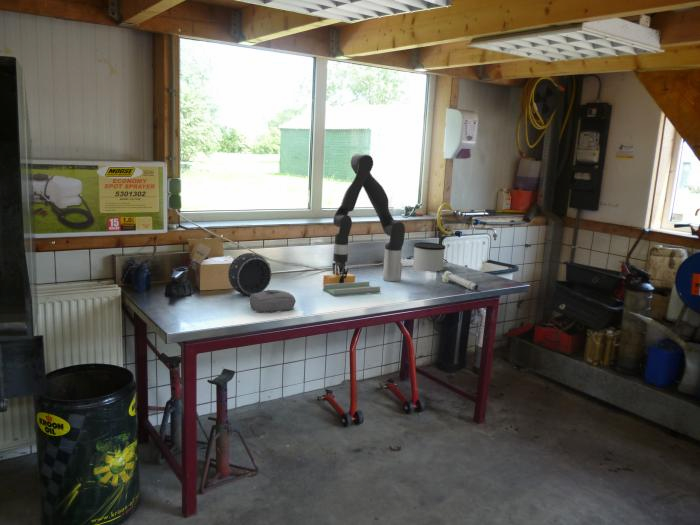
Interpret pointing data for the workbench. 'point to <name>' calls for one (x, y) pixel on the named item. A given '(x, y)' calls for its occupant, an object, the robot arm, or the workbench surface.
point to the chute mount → (350, 288)
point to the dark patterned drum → (249, 274)
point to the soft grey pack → (272, 301)
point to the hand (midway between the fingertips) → (339, 284)
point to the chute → (337, 279)
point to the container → (428, 256)
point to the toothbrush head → (459, 280)
